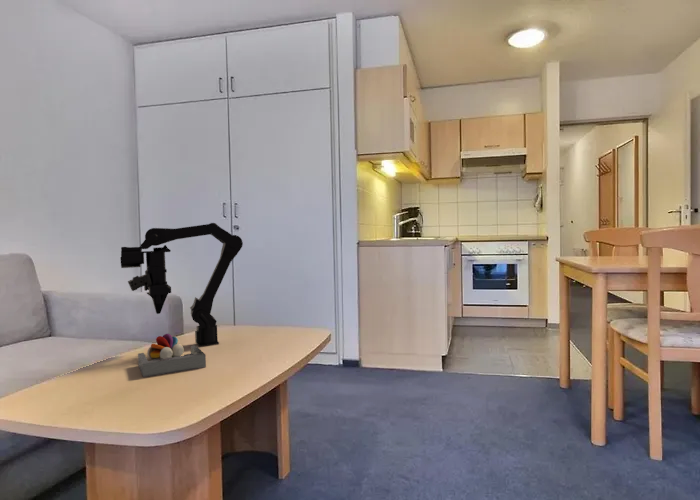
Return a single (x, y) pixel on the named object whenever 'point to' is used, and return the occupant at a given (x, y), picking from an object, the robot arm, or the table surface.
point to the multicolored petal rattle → (165, 347)
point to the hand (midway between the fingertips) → (158, 313)
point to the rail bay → (172, 363)
